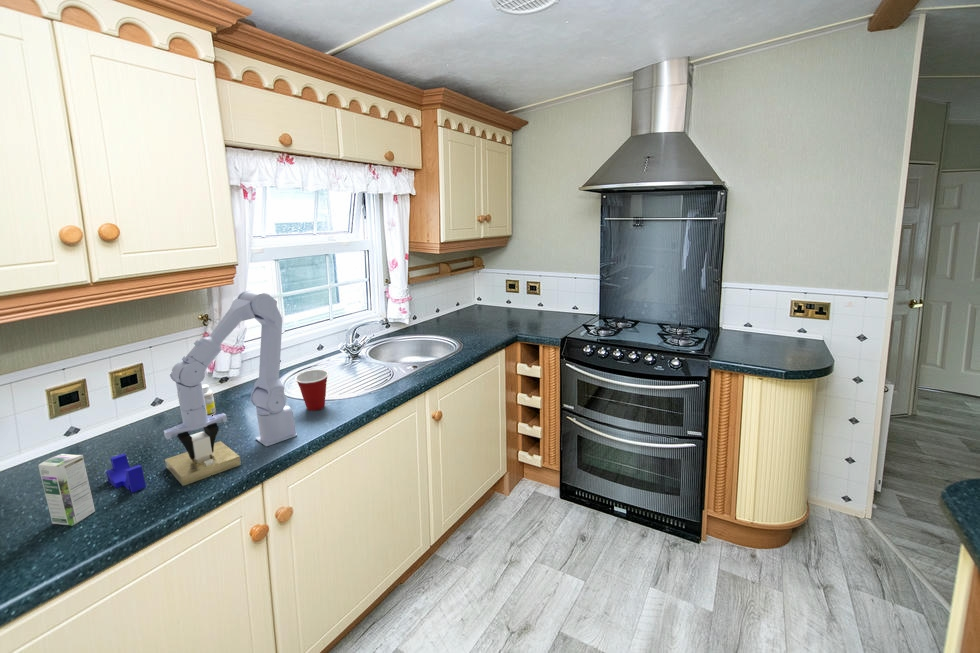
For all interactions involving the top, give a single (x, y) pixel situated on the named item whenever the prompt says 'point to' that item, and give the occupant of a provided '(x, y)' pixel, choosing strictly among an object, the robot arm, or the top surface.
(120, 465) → the cable clip
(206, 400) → the supplement bottle
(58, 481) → the syrup box
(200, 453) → the plug
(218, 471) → the socket plate
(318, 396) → the plastic cup
